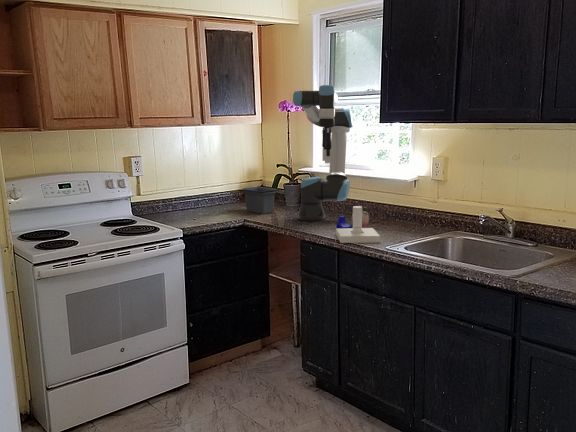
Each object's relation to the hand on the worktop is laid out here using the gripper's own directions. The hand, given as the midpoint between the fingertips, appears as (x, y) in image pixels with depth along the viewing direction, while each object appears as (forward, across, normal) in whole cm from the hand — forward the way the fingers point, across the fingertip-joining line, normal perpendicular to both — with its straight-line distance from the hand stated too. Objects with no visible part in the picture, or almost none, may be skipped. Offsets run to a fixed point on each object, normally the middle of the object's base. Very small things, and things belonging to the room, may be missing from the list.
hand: (326, 162), depth 271 cm
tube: (+35, +17, +13) cm, 41 cm away
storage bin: (+35, -60, -34) cm, 77 cm away
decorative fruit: (+35, -6, +18) cm, 40 cm away
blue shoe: (+35, -4, +11) cm, 37 cm away
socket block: (+35, +17, +13) cm, 41 cm away
